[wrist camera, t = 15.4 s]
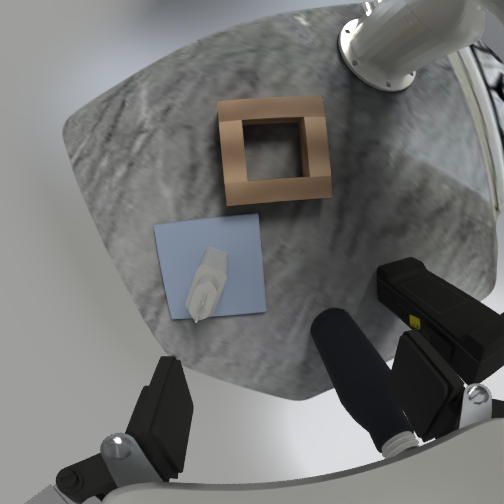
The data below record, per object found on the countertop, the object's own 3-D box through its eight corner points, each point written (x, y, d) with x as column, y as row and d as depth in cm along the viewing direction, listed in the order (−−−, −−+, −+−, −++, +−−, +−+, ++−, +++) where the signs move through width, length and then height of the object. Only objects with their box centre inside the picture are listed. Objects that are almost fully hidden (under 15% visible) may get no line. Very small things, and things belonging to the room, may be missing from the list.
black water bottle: (344, 300, 38) (470, 468, 9) (355, 332, 39) (458, 489, 10) (304, 320, 38) (387, 517, 9) (319, 351, 40) (391, 526, 11)
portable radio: (371, 305, 38) (472, 418, 14) (369, 268, 37) (493, 370, 12) (413, 291, 38) (521, 379, 14) (413, 255, 36) (539, 331, 12)
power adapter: (231, 254, 34) (227, 292, 22) (216, 292, 35) (206, 343, 24) (207, 245, 34) (191, 279, 22) (193, 283, 35) (174, 332, 23)
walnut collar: (219, 109, 30) (217, 101, 27) (314, 104, 31) (322, 97, 27) (228, 203, 33) (226, 206, 30) (323, 195, 34) (332, 197, 30)
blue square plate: (155, 224, 34) (153, 225, 33) (257, 212, 34) (258, 213, 33) (173, 315, 37) (171, 319, 36) (265, 308, 37) (266, 311, 36)
